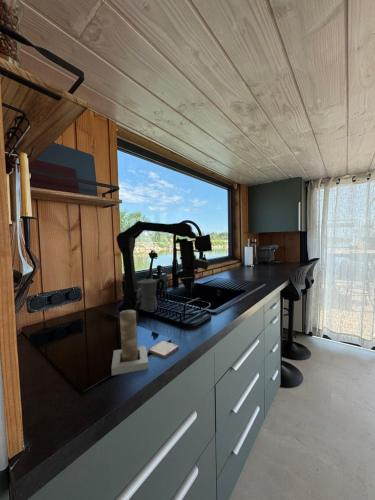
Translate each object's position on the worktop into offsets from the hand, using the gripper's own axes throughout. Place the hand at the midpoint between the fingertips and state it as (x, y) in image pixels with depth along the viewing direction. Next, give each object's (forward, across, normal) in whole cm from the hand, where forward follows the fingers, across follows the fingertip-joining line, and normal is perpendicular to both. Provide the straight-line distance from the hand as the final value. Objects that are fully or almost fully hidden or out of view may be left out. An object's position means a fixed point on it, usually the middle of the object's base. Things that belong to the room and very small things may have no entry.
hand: (191, 290), depth 92 cm
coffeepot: (+13, +18, +24) cm, 33 cm away
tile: (+14, -20, +9) cm, 26 cm away
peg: (+14, -28, +17) cm, 36 cm away
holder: (+13, -28, +17) cm, 36 cm away
